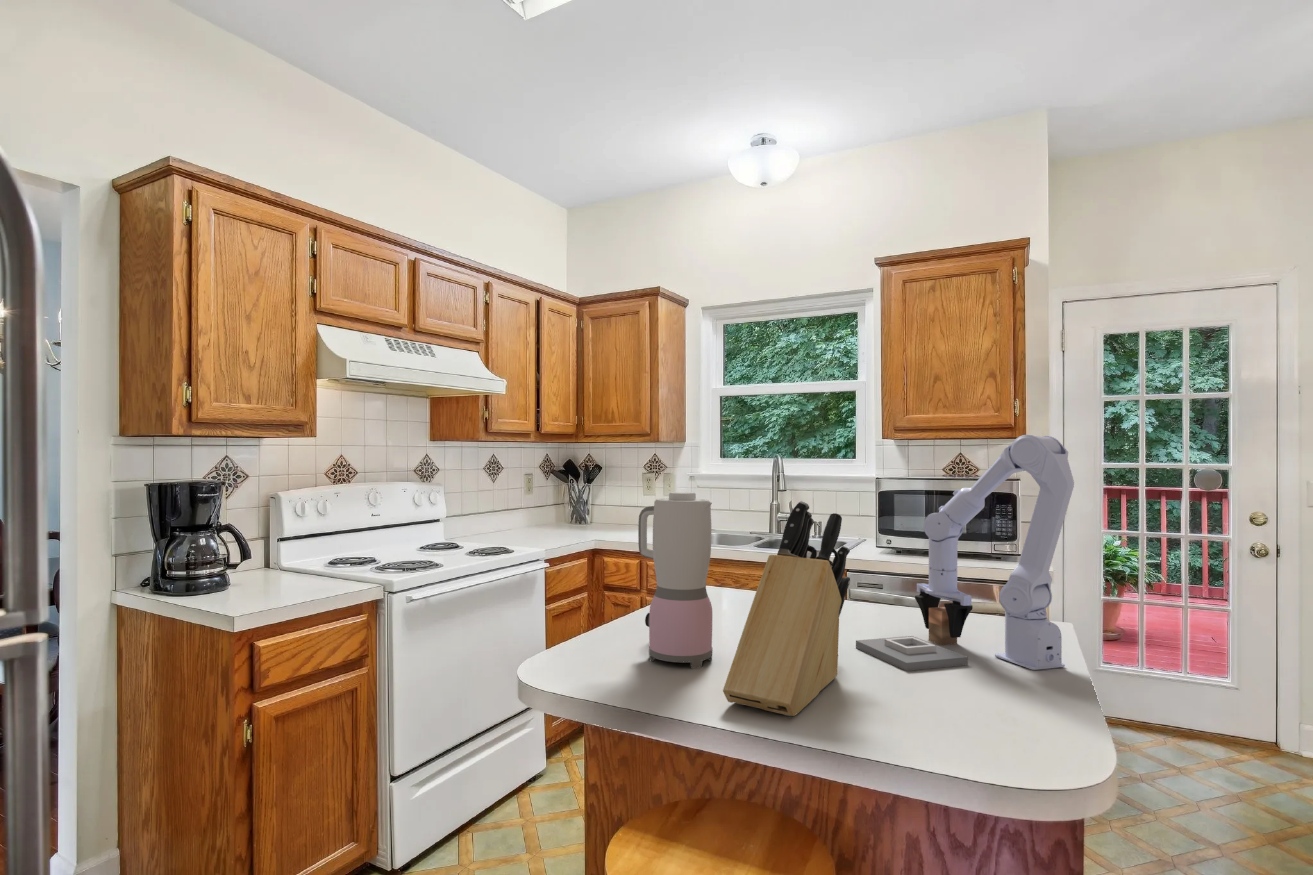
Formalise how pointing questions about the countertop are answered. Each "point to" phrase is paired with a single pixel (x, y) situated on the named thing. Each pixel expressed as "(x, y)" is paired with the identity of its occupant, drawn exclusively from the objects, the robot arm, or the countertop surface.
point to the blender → (679, 578)
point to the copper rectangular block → (939, 627)
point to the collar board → (911, 653)
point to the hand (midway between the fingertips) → (942, 632)
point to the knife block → (792, 622)
